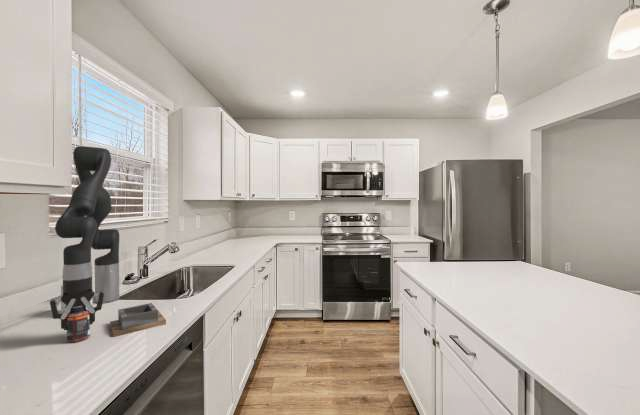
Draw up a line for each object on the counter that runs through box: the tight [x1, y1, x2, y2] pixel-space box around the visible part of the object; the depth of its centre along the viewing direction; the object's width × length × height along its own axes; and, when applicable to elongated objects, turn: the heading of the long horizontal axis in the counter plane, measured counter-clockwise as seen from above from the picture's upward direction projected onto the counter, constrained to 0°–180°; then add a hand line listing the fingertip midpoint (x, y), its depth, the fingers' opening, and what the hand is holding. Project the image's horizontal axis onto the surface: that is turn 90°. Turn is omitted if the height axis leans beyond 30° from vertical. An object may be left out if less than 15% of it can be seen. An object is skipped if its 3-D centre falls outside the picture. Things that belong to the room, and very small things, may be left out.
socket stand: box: [109, 302, 167, 338], centre depth 107 cm, size 12×16×6 cm
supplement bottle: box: [66, 305, 91, 343], centre depth 96 cm, size 6×6×11 cm
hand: (78, 326), depth 96 cm, fingers closed on supplement bottle, 6 cm apart
